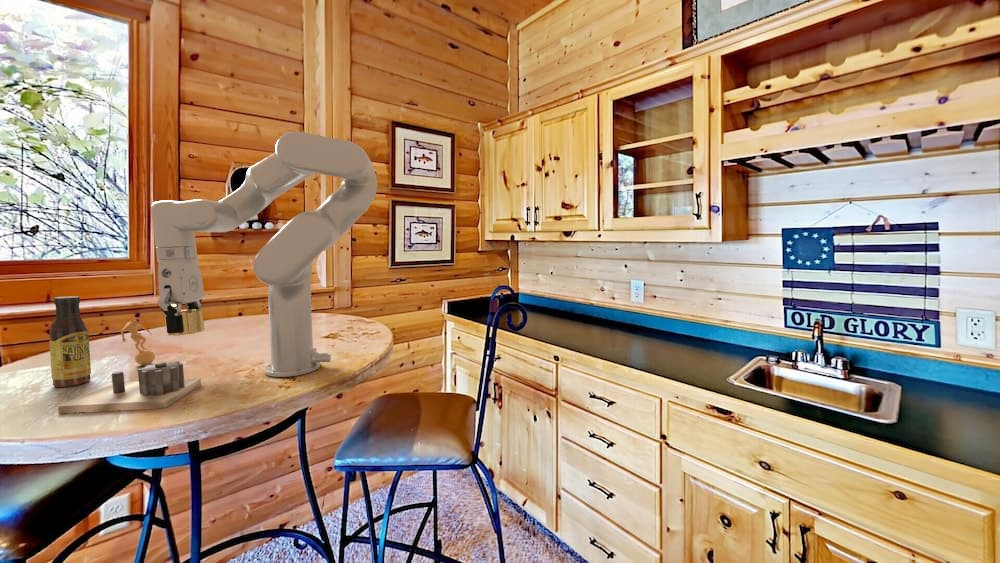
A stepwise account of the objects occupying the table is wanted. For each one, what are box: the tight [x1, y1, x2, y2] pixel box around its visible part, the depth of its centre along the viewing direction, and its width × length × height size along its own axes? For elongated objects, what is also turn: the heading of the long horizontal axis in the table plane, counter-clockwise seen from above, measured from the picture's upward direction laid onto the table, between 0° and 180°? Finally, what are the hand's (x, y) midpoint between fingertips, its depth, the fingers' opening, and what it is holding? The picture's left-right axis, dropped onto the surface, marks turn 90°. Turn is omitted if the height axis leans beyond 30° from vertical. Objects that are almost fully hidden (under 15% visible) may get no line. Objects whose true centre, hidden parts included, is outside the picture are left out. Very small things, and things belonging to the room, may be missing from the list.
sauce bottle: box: [48, 295, 92, 388], centre depth 94 cm, size 7×6×20 cm
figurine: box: [120, 319, 156, 366], centre depth 108 cm, size 8×6×12 cm
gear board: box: [57, 361, 202, 415], centre depth 86 cm, size 18×13×7 cm
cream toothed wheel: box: [164, 308, 205, 337], centre depth 99 cm, size 7×7×5 cm
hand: (185, 328), depth 99 cm, fingers closed on cream toothed wheel, 7 cm apart
